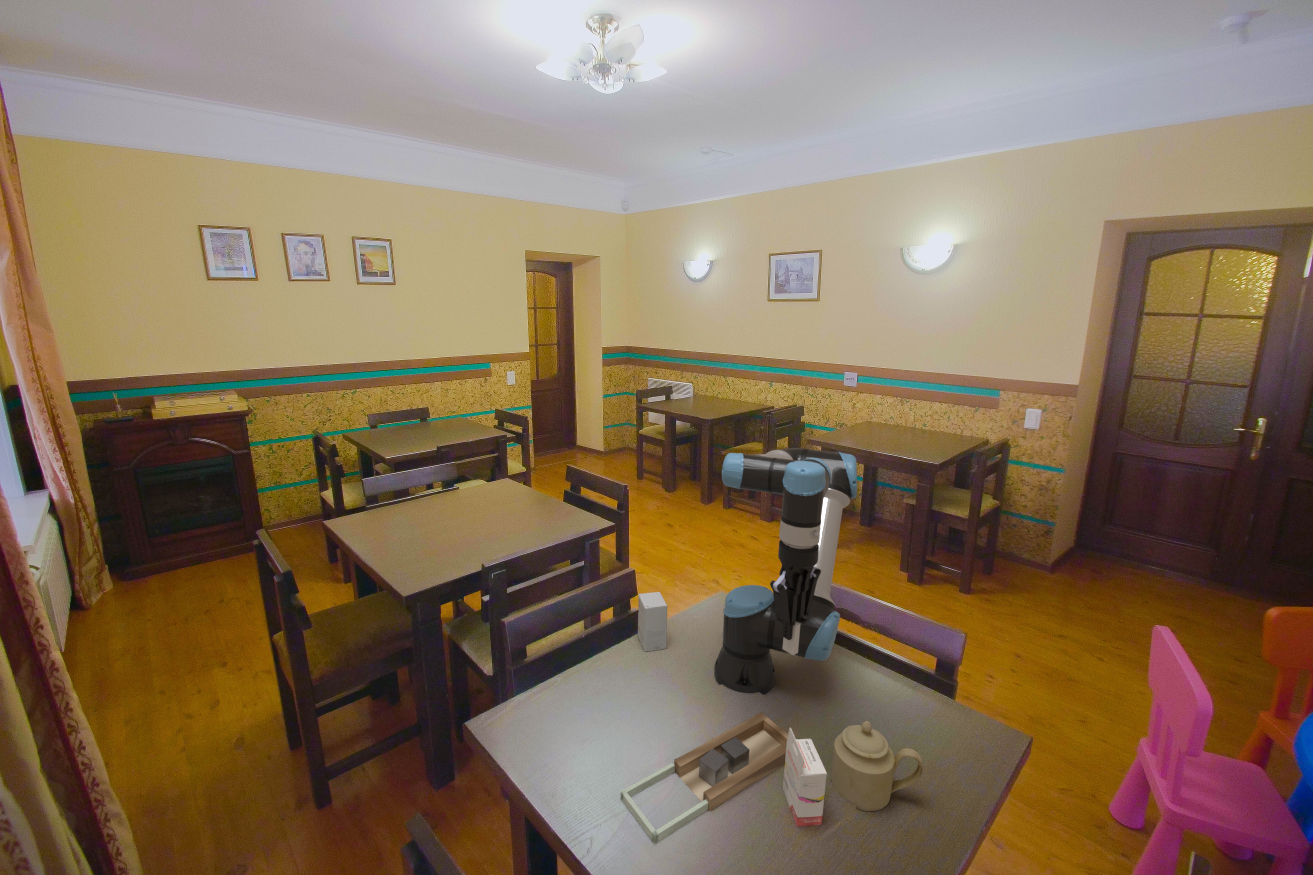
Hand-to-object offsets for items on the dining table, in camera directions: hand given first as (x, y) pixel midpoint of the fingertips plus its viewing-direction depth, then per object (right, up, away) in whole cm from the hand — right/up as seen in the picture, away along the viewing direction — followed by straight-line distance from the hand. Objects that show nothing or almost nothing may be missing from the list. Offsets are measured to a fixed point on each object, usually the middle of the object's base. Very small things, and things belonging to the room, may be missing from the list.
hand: (790, 650), depth 113 cm
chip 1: (-16, -23, -4) cm, 28 cm away
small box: (-28, -14, +41) cm, 52 cm away
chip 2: (-11, -23, -1) cm, 25 cm away
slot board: (-11, -23, 0) cm, 26 cm away
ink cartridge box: (0, -26, -9) cm, 28 cm away
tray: (-26, -25, -10) cm, 37 cm away
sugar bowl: (+14, -25, -4) cm, 29 cm away
